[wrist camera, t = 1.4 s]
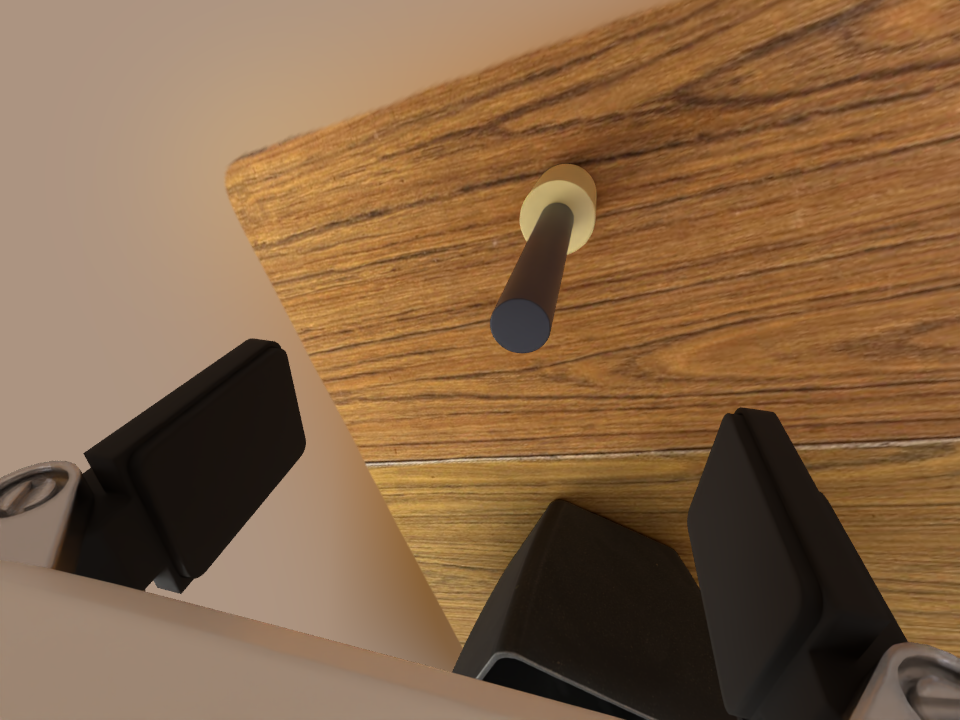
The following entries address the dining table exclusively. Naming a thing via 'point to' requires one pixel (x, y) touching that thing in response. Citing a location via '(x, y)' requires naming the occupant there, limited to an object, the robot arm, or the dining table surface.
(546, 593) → the flower pot
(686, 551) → the dining table surface
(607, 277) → the dining table surface
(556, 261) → the bottle brush
